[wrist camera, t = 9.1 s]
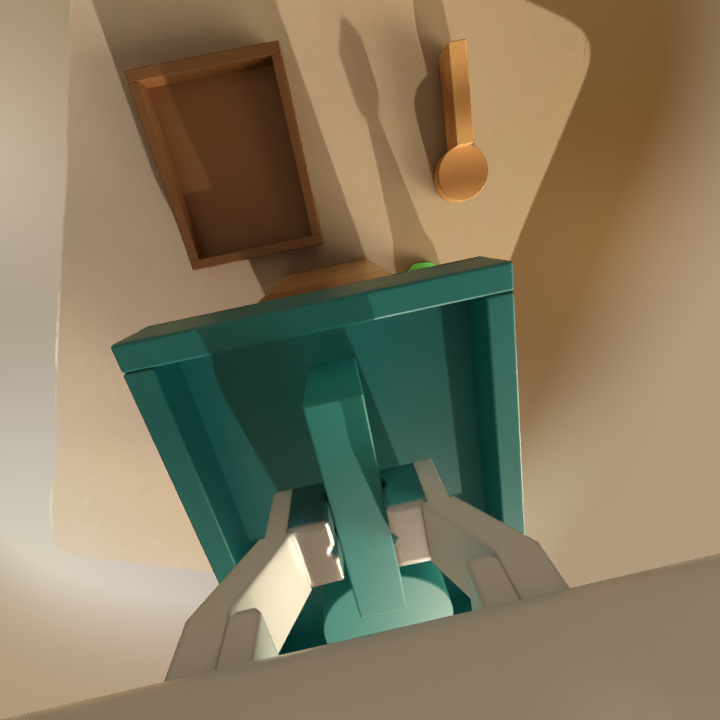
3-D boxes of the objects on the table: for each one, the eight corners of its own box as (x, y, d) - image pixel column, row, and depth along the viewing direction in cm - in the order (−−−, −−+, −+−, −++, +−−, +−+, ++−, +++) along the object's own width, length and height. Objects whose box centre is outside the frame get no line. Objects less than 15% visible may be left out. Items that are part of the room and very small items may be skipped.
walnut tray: (137, 81, 28) (123, 70, 26) (281, 53, 28) (278, 39, 26) (200, 268, 33) (192, 270, 31) (323, 242, 33) (323, 243, 31)
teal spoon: (256, 376, 10) (234, 420, 8) (404, 345, 10) (428, 379, 8) (337, 633, 14) (339, 716, 12) (445, 608, 14) (470, 686, 12)
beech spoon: (420, 61, 29) (428, 45, 27) (472, 51, 30) (485, 34, 27) (436, 206, 33) (445, 204, 31) (482, 196, 33) (494, 194, 31)
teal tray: (147, 326, 11) (108, 346, 9) (480, 255, 11) (514, 260, 9) (275, 637, 16) (268, 693, 14) (505, 584, 16) (530, 632, 14)
